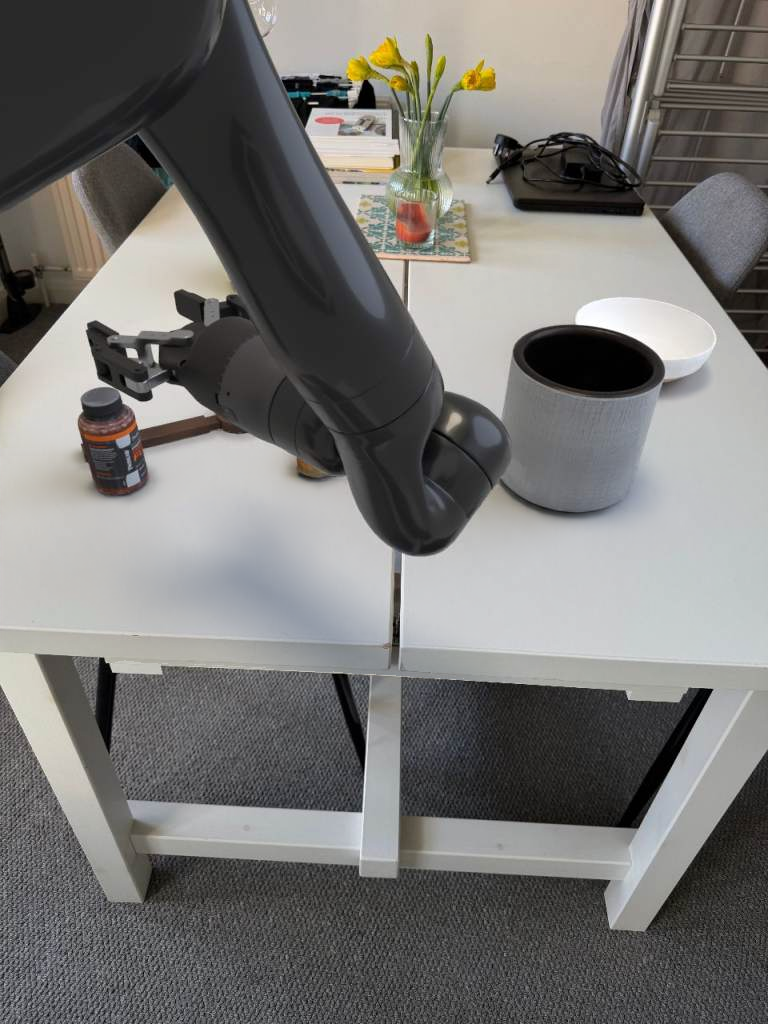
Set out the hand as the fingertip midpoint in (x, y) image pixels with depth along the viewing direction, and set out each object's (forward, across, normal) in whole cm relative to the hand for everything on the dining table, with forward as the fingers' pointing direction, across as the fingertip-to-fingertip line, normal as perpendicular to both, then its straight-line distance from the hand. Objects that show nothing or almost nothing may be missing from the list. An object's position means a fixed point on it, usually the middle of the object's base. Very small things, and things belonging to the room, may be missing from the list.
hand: (136, 315), depth 63 cm
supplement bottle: (+11, 0, +24) cm, 27 cm away
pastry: (-4, -20, +24) cm, 31 cm away
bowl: (-19, -66, +24) cm, 73 cm away
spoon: (+14, -10, +24) cm, 30 cm away
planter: (-26, -36, +24) cm, 50 cm away
